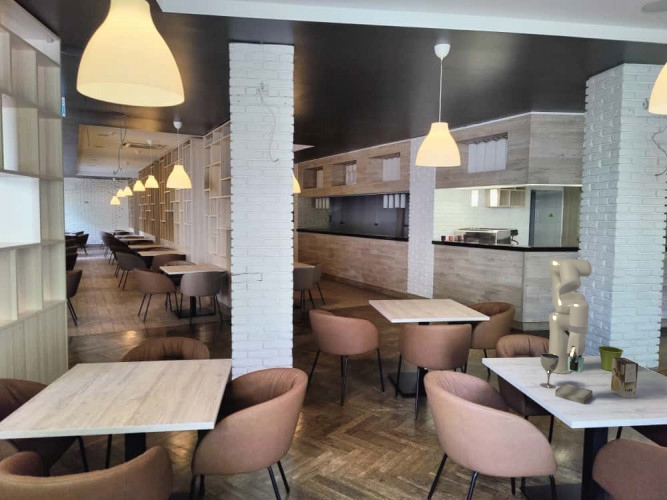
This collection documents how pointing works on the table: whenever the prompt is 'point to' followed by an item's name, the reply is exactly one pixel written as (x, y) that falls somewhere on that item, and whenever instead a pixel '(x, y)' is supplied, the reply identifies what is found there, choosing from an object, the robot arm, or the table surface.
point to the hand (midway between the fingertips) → (575, 368)
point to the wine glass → (549, 367)
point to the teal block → (580, 364)
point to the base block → (573, 393)
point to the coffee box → (624, 377)
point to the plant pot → (609, 356)
